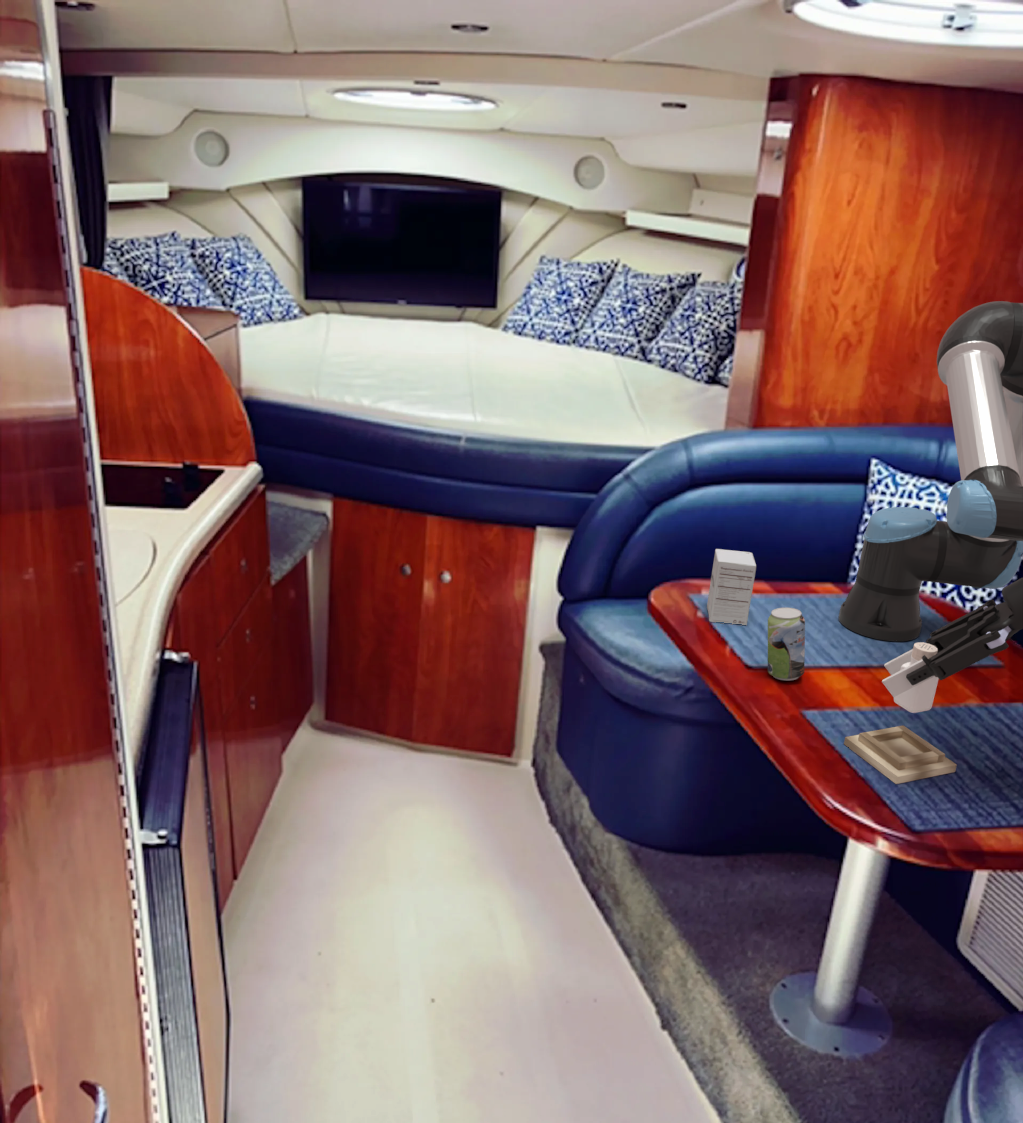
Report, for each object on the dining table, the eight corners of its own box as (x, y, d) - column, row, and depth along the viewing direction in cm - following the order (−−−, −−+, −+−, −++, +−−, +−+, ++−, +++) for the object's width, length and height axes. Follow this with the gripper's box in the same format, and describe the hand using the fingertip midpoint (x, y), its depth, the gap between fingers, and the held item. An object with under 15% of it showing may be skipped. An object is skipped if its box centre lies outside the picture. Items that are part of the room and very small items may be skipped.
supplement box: (705, 607, 192) (714, 547, 187) (743, 611, 191) (753, 551, 186) (707, 622, 185) (717, 560, 180) (747, 626, 184) (757, 565, 179)
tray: (900, 733, 149) (903, 720, 148) (955, 771, 140) (958, 757, 139) (843, 743, 145) (846, 730, 144) (896, 784, 136) (899, 769, 135)
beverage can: (804, 687, 162) (816, 622, 158) (759, 680, 163) (770, 615, 159) (801, 670, 168) (813, 607, 163) (758, 664, 169) (769, 601, 165)
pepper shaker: (911, 715, 137) (926, 654, 133) (891, 702, 140) (904, 642, 137) (932, 711, 138) (947, 651, 135) (911, 698, 142) (925, 639, 138)
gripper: (1069, 647, 120) (902, 729, 131) (1054, 598, 136) (906, 675, 147) (1033, 598, 120) (869, 685, 131) (1022, 556, 136) (877, 636, 147)
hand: (889, 680), depth 139 cm, fingers closed on pepper shaker, 5 cm apart
